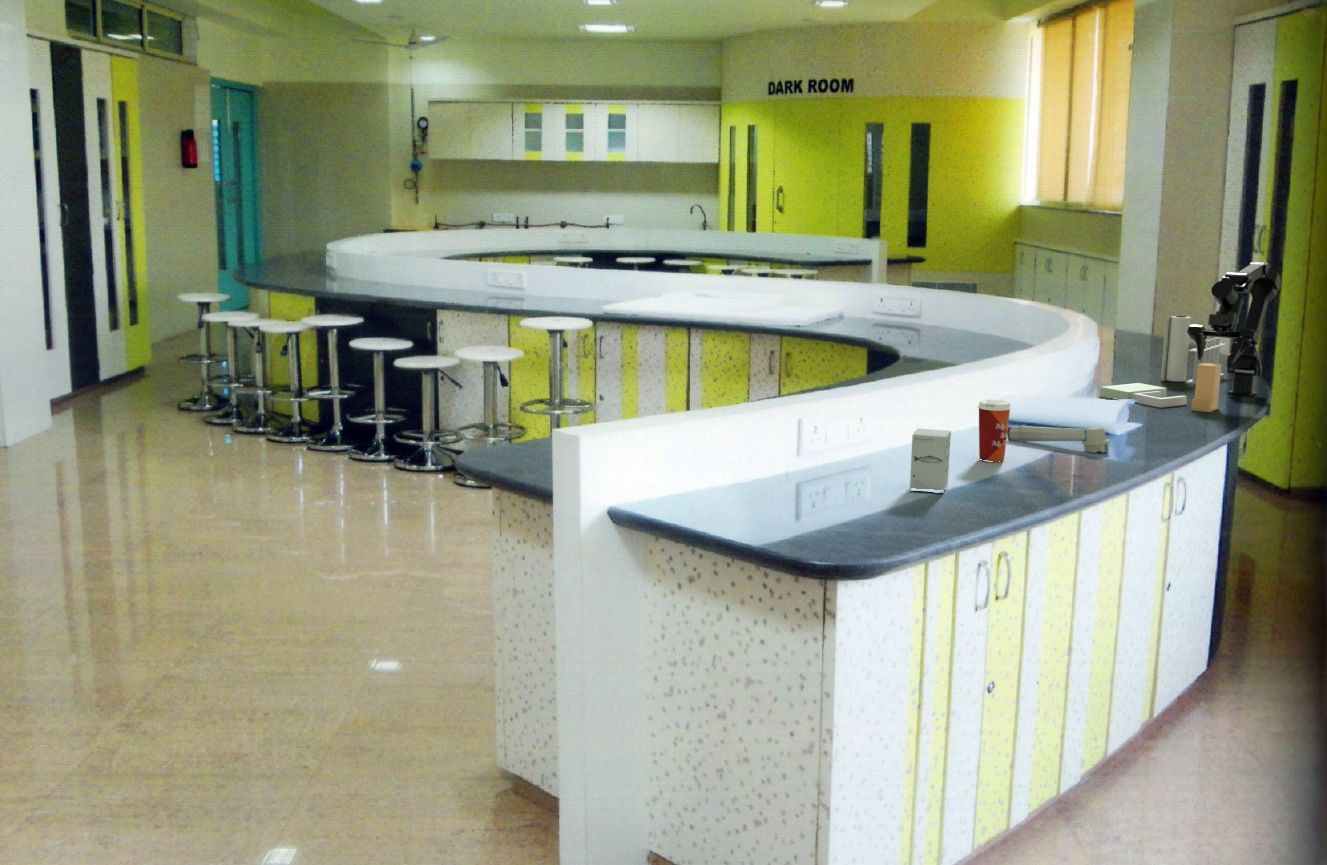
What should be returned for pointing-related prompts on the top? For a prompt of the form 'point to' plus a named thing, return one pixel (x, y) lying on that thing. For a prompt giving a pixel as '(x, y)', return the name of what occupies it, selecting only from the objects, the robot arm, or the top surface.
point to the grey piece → (1061, 436)
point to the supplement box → (930, 459)
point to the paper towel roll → (1175, 348)
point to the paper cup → (993, 429)
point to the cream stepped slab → (1142, 394)
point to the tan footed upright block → (1207, 387)
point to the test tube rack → (1206, 356)
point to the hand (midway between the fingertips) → (1215, 361)
